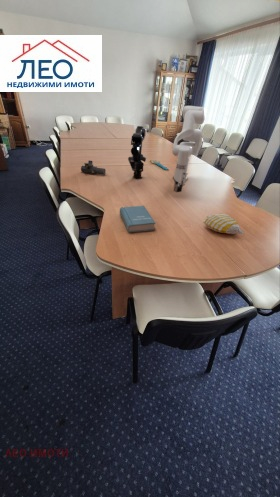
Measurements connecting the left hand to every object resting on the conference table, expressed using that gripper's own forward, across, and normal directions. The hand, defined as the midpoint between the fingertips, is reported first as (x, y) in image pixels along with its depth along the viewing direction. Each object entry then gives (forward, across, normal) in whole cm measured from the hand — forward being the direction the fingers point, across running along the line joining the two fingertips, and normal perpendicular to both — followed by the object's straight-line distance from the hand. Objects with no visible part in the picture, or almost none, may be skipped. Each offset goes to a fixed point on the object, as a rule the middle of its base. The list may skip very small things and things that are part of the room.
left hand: (135, 172), depth 182 cm
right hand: (+6, -32, -23) cm, 39 cm away
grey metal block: (+6, -32, -23) cm, 40 cm away
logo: (+11, +46, -49) cm, 68 cm away
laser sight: (+11, +35, +27) cm, 46 cm away
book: (+10, -60, +24) cm, 65 cm away
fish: (+11, -85, -23) cm, 89 cm away
